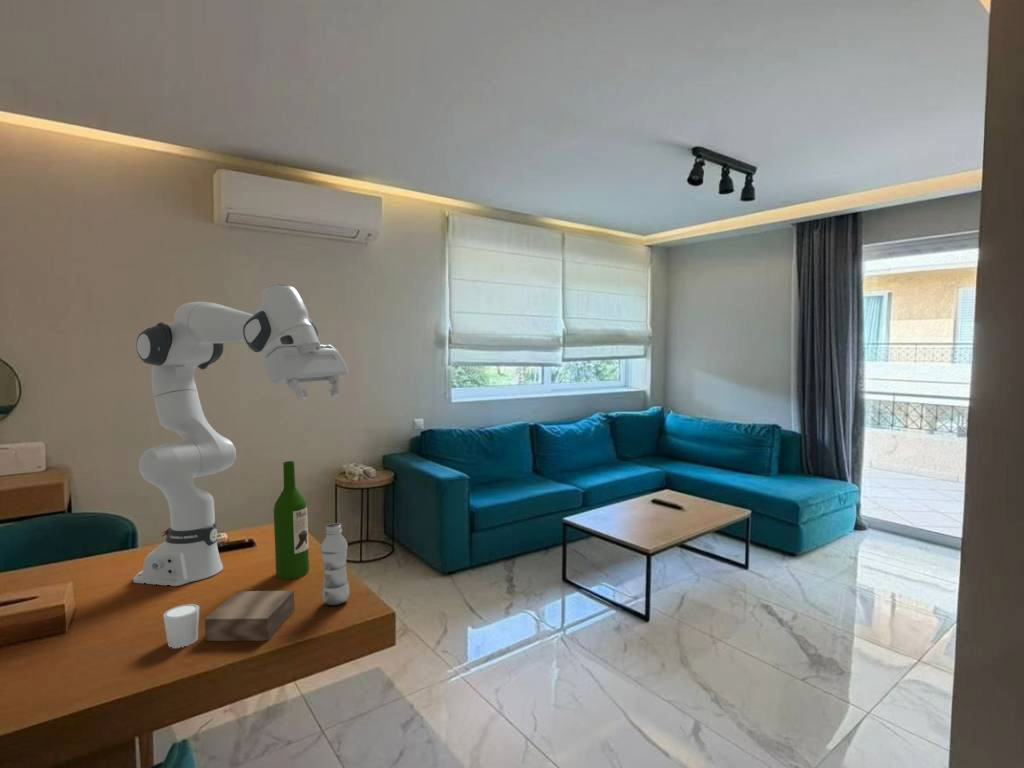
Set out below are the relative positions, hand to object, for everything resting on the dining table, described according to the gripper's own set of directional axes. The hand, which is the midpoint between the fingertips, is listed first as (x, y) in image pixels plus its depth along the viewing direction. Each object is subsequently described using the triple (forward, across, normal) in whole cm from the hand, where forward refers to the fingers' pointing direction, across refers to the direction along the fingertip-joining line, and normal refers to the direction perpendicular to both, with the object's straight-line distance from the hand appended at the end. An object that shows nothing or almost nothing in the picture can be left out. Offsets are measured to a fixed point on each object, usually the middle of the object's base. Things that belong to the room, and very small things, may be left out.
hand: (320, 396), depth 126 cm
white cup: (+38, +24, -42) cm, 61 cm away
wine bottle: (+33, -12, -52) cm, 63 cm away
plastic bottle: (+45, -6, -29) cm, 54 cm away
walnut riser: (+41, +12, -36) cm, 56 cm away
